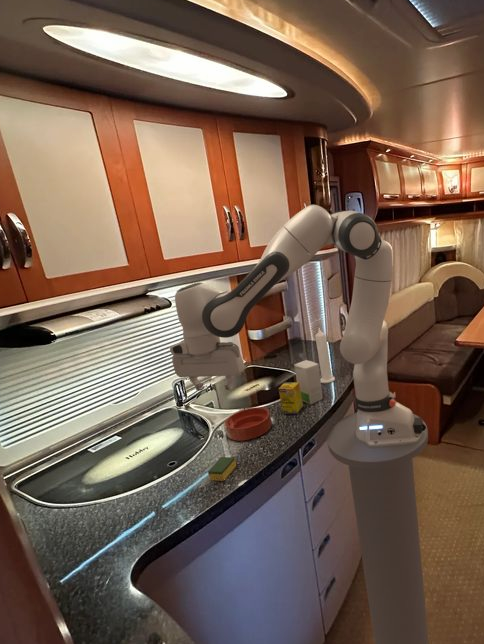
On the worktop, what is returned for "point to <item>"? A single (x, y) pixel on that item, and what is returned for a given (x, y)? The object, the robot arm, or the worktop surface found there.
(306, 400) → the cosmetic box
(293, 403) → the supplement box
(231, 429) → the bowl
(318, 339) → the candle
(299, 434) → the worktop surface
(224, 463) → the sponge
